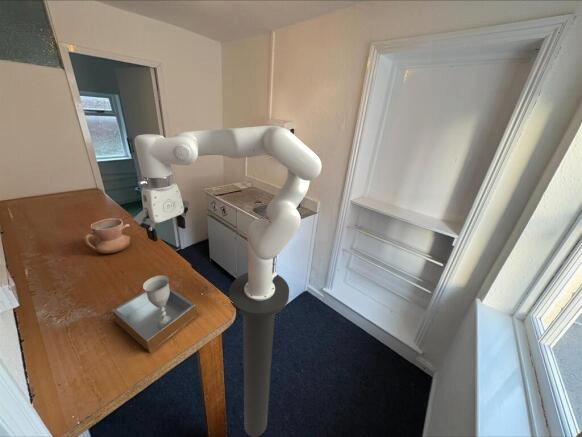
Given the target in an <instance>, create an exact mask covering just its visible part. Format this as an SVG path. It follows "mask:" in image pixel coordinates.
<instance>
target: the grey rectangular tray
mask: <svg viewBox="0 0 582 437" xmlns="http://www.w3.org/2000/svg"><path fill="white" fill-rule="evenodd" d="M169 289H170V294H169V298H168V300H167V302H166V304H165V305H164V306H163V307H164V308H165V310H164V311H165V312H166V314H165V316H170V317H171V318H172V320H171V321H169V322H168V323H167V324H165V325H164V326H163V327H161V328H160V329H158V328H157V324H158V321H159V319H160V318H161V317H162V316H161V315H160V314H161V311H159V310H160V307H159V308H158V307H156V306H155V305H153V304H152V303H151V302H150V301H149V300H148V297H147V293H146V290H144V291H142V292H141V293H139V294H137V295H135V296H134V297H132V298H130V299H128V300H127V301H125V302H123V303H121V304H120V305H118V306H116V307H115V308H113V309H112V310H111V312H112V316H113V318H114V321H115V322H116V323H117V324H118V325H119V326H120V327H121V328H122V329H123V330H125V332H127V334H129V335H130V336H131V337H132V338H133V339H134V340H135V341H137V342H138V343H139V344H140V345H141V346H142V347H143V348H144V350H147V352H149V353H152V352H154V350H156V349H157V348H158V347H159V346H161V345H162V344H163V343H164V342H166V341H167V340H169V338H171V337H172V336H173V335H175V334H176V333H177V332H178V331H180V330H181V329H182V328H183V327H185V325H188V323H189V322H191V321H192V320H193V319H194V318H196V317H198V313H197V307H196V304H195V303H193V302H192V301H190V300H189V299H188V298H186V297H184V296H183V295H182V294H180V293H178V292H177V291H176V290H174V289H173V288H171V287H169Z"/></svg>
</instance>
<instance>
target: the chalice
mask: <svg viewBox="0 0 582 437" xmlns="http://www.w3.org/2000/svg"><path fill="white" fill-rule="evenodd" d="M169 283H170V278H169V276H167V275H164V274H163V275H156V276H153V277H151V278H149V279H147V280H146V281H145V282H144V283H143V284H142V289H143V290H144V291H146V293H147V297H148V300H149V301H150V302H151V303H152V304H153V305H155V306H156V307H158V308H159V307H160V310H159V311H161V314H160V315H161V316H162V317H161V318H160V319H159V321H158V324H157V328H158V329H160V328H161V327H163V326H164V325H165V324H167V323H168V322H169V321H171V320H172V318H171V317H170V316H165V314H166V312H165V311H164V310H165V308H164V307H163V306H164V305H165V304H166V302H167V300H168V298H169V294H170V289H169V288H170V284H169Z"/></svg>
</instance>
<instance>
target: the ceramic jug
mask: <svg viewBox="0 0 582 437" xmlns="http://www.w3.org/2000/svg"><path fill="white" fill-rule="evenodd" d="M116 225H117V226H116ZM126 228H130V223H125V224H124V221H123V220H122V219H121V218H116V217H114V218H113V217H112V218H104V219H102V220H98V221H95V222H93V223H91V225H90V229H91V231H92V232H90V233H87V234H86V235H85V236H84V242H85V244H86V246H88V247H90V248H92V250H93V251H95V252H96V253H98V254H102V255H110V254H117V253H120V252H122V251H124V250H125V249H127V248H128V247H129V246H130V244H131V236H129V235H127V234H123V230H124V229H126ZM90 238H98V239H97V240H96V241H95V243H94V244H92V243H91V242H90V240H89V239H90Z"/></svg>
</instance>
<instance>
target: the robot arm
mask: <svg viewBox="0 0 582 437" xmlns="http://www.w3.org/2000/svg"><path fill="white" fill-rule="evenodd" d="M133 140H134V147H135V152H136V157H137V161H138V165H139V170H140V174H141V176H140V177H141V179H140V180H138V181H137V183H138V186H140V187H141V203H142V210H141V211H140V212H139V213H138V214H136V215H135V216H134V217H133V218H132V221H134V223H135V224H137V225H138V226H139V227H141V228H142V229H145V230H146V231H145V232H146V235H147V238H148V239H149V240H151V241H153V242H155V243H156V242H158V240H159V239H158V235H157V230H156V228H155V227H156V224H161V223H163V222H166V221H168V220H171V219H174V218H176V225H177V227H178V228H180V229H183V230H186V228H187V227H186V217H187V212H188V211H189V206H190V201H189V200H186V199H183V198H182V195H181V192H180V188H179V186H178V184H177V182H174V177H173V176H174V175H173V170H172V165H177V166H189V165H192V164H193V163H195V162H196V161H197V159H198V157H204V156H224V157H227V158H230V159H245V158H253V157H260V156H261V157H262V156H271V157H272V158H274V159H275V160H276V161H277V162H278V163H280V164H281V165H282V166H284V167H285V168H286V169H287V175H286V179H285V182H284V183H283V184H282V186H281V188H280V189H279V190H278V192H276V194H275V196H274V197H273V198H272V199H271V201H270V202H269V203H268V205H267V206H266V210H265V212H266V216H267V217H268V220H267V219H264V218H256V219H254V220H253V221H252V222H250V224H248V227H247V231H246V238H247V252H248V253H247V256H248V258H247V273H248V282H247V283H246V285H245V287H244V292H245V294H246V296H247V297H248V298H250V299H252V300H256V301H262V300H266V299H268V298H270V297H271V296H272V295H273V294H274V292H275V285H274V283H273V282H272V280H273V278H274V277H276V276H277V275H278V274H277V272H276V271H273V265H274V263H273V262H274V258H275V257H277V256H278V255H280V253H281V252H282V251H283V250H284V249H285V247H286V246H287V245H288V243H289V242H290V241H291V240H292V239H293V237H295V235H296V233H297V232H298V231H299V228H300V226H301V222H302V219H301V218H302V217H301V214H300V212H299V210H298V209H297V208H298V206H299V205H300V204H301V202H302V201H303V199H304V198H305V196H306V195H307V193H308V191H309V187H310V183H311V181H313V180H315V179H317V178H318V177H319V176H320V174H321V172H322V168H323V167H322V166H323V165H322V161H321V159H320V157H319V156H318V155H317V154H316V153H315V152H314V151H313V150H311V148H310V147H309V146H307V145H306V144H305V143H303V141H302V140H301V139H299V138H298V137H297V136H296V135H295V134H294V133H293V132H292V131H291V130H289V129H287V128H285V127H282V126H279V125H274V124H273V125H272V124H271V125H259V126H258V125H257V126H245V127H234V128H232V127H231V128H220V129H206V130H205V129H204V130H192V131H181V132H178V133H176V134H174V135H173V136H172V137H165V136H164V135H161V134H153V133H151V134H150V133H148V134H147V133H146V134H138V135H136V136H135V137H134V139H133ZM144 219H146V220H145V222H144V221H143V220H144ZM269 221H270V222H269Z"/></svg>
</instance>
